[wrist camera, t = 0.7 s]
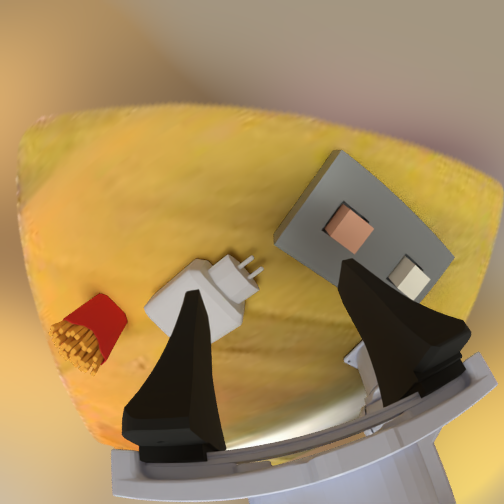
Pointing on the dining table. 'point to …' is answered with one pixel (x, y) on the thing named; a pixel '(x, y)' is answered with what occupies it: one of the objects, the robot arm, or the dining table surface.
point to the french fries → (89, 333)
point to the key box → (370, 210)
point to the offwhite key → (408, 278)
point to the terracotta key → (348, 229)
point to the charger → (207, 294)
